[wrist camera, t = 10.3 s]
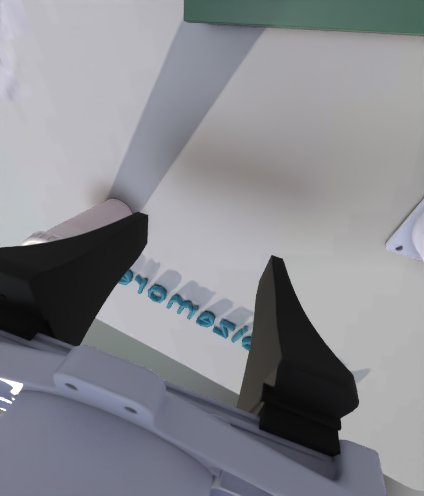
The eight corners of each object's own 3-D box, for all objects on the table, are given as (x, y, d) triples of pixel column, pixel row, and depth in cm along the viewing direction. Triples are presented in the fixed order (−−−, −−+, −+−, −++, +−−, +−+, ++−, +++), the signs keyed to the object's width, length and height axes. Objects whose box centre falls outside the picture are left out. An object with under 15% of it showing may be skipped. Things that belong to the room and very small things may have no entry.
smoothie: (86, 182, 26) (-57, 267, 16) (140, 191, 25) (27, 289, 15) (100, 231, 30) (-6, 326, 20) (147, 241, 29) (62, 347, 19)
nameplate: (329, 392, 38) (354, 382, 35) (330, 397, 38) (356, 387, 34) (115, 280, 35) (121, 259, 32) (112, 284, 35) (118, 263, 32)
